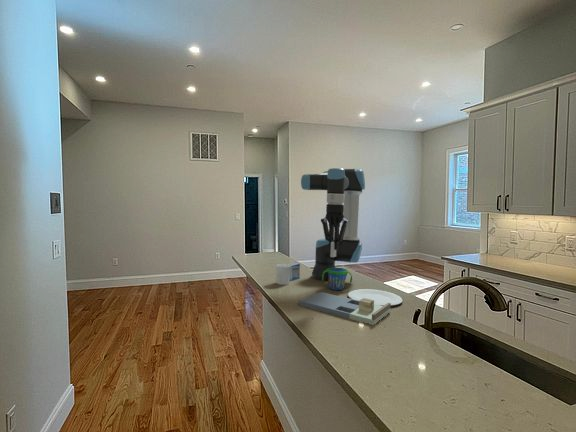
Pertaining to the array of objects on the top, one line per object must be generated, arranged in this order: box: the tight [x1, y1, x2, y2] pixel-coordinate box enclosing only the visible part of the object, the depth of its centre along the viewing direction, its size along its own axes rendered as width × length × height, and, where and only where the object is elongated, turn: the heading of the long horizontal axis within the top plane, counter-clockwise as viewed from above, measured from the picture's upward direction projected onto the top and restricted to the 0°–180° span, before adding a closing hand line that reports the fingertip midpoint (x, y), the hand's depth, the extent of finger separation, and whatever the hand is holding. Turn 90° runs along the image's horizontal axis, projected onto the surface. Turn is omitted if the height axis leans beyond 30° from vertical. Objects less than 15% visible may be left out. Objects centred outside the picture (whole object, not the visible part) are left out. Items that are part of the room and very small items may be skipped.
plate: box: [347, 288, 403, 307], centre depth 151 cm, size 25×25×2 cm
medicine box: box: [289, 262, 301, 281], centre depth 185 cm, size 8×4×9 cm, turn 143°
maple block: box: [359, 298, 374, 313], centre depth 129 cm, size 4×4×4 cm
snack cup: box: [321, 267, 353, 291], centre depth 167 cm, size 16×10×10 cm
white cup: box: [275, 263, 291, 286], centre depth 174 cm, size 8×8×10 cm
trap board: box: [298, 291, 392, 326], centre depth 136 cm, size 18×34×4 cm, turn 54°
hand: (333, 256), depth 142 cm, fingers closed
